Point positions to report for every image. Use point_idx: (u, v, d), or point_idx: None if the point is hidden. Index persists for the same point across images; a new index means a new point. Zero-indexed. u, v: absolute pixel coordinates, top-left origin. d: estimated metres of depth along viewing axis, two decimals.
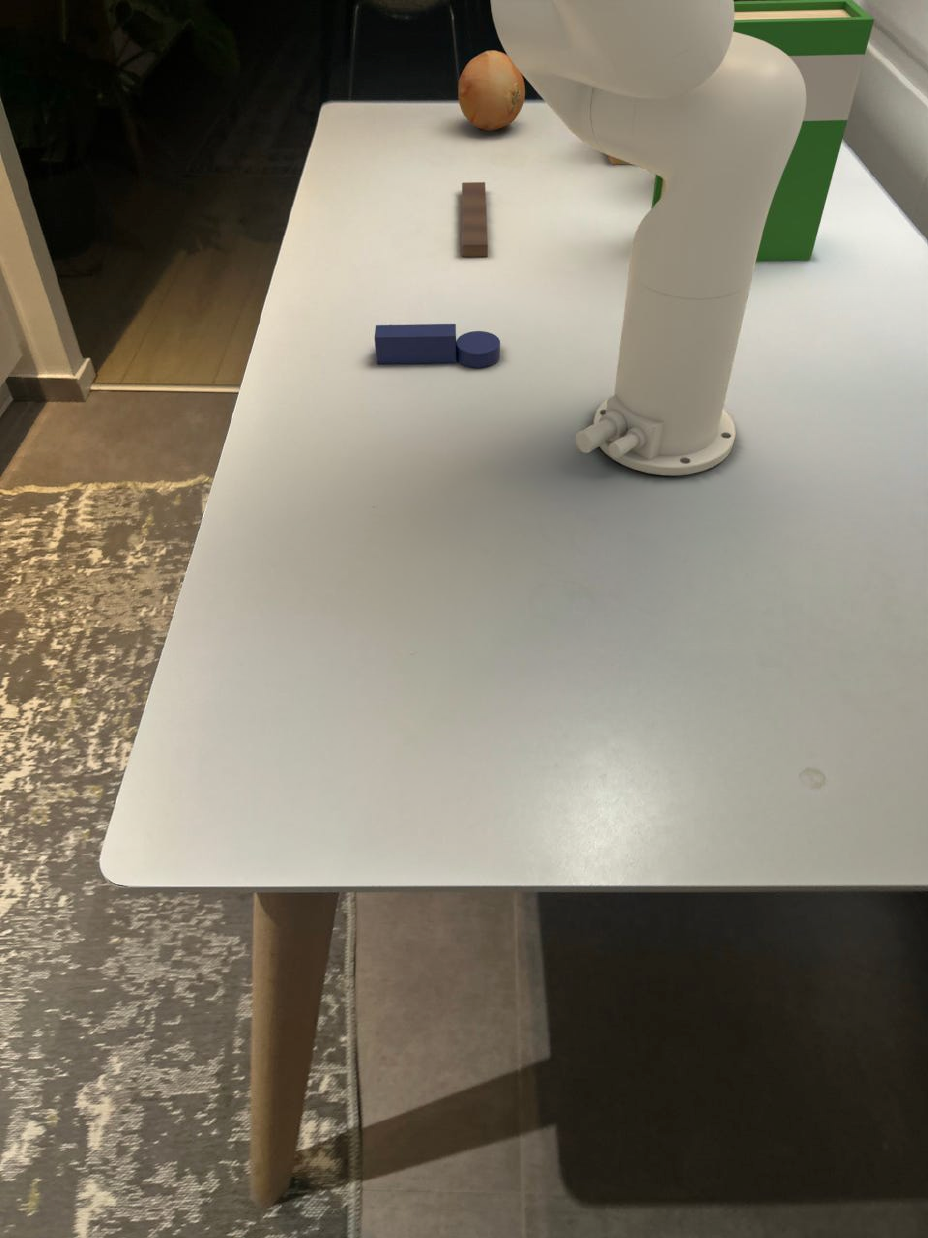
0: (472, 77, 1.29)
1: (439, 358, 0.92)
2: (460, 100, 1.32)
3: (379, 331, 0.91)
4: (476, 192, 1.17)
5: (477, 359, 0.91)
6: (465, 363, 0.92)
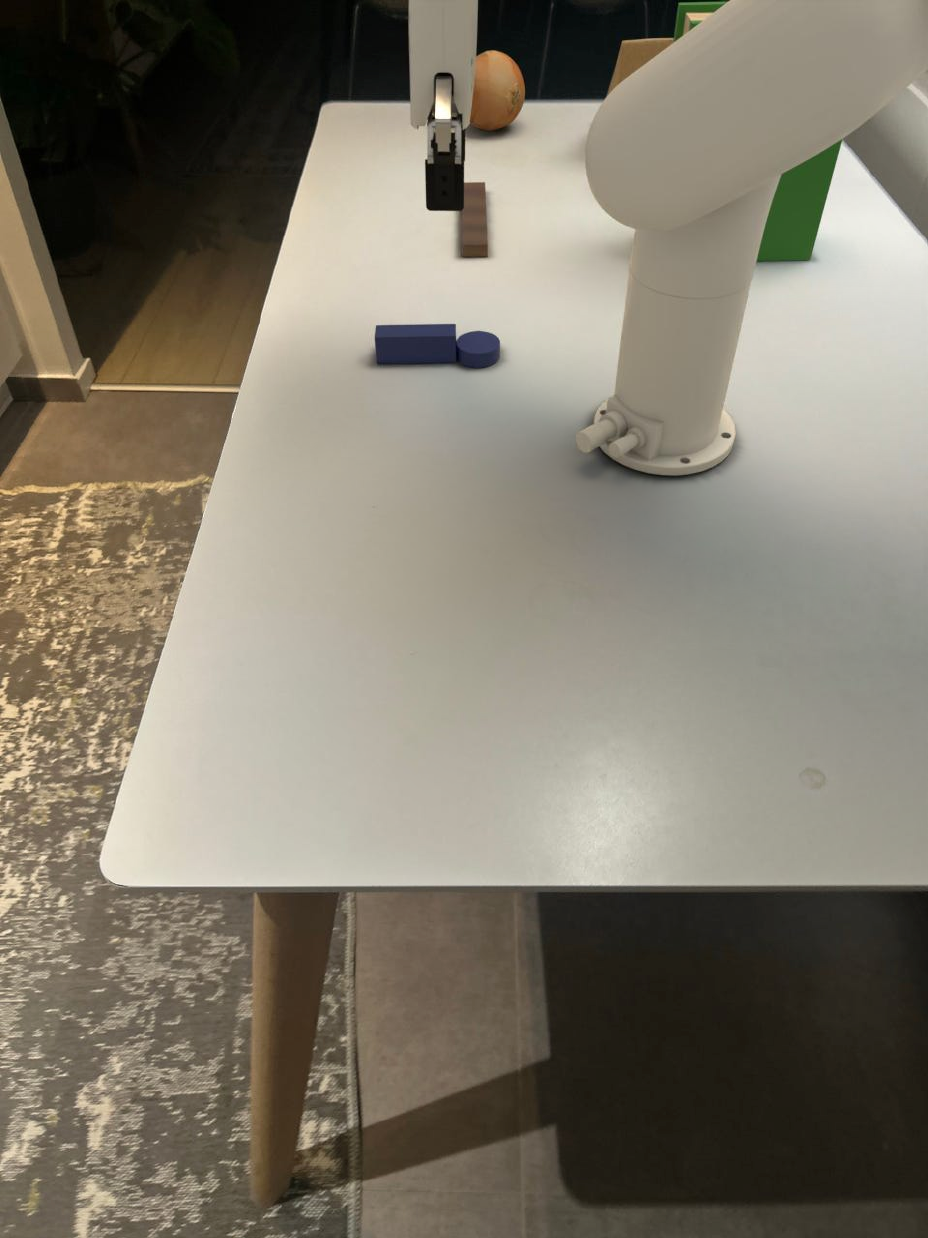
0: None
1: (439, 358, 0.92)
2: None
3: (379, 331, 0.91)
4: (476, 192, 1.17)
5: (477, 359, 0.91)
6: (465, 363, 0.92)
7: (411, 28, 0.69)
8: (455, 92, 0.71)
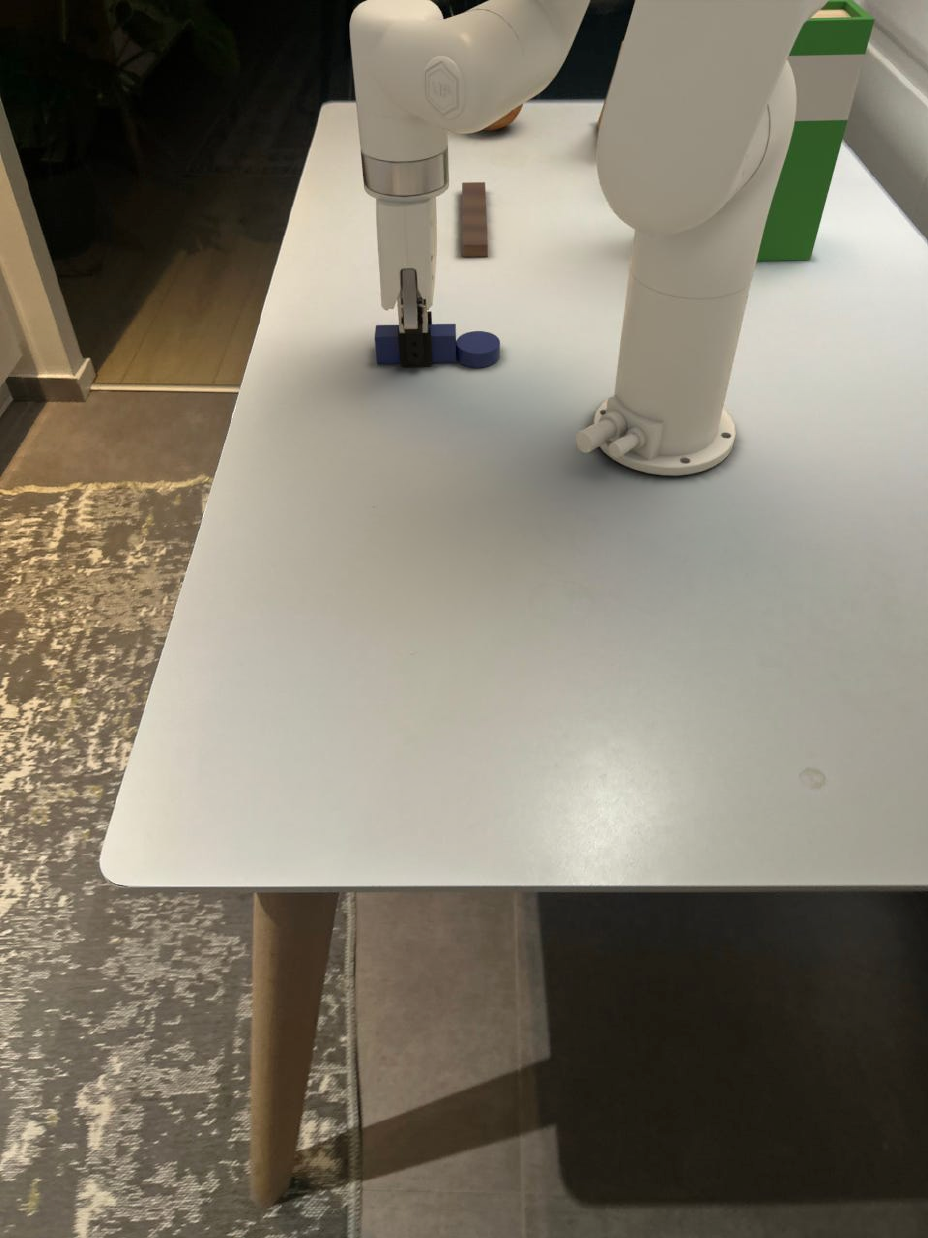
0: None
1: (438, 358, 0.92)
2: None
3: (379, 331, 0.91)
4: (476, 192, 1.17)
5: (477, 359, 0.91)
6: (465, 363, 0.92)
7: (378, 234, 0.80)
8: (418, 283, 0.82)
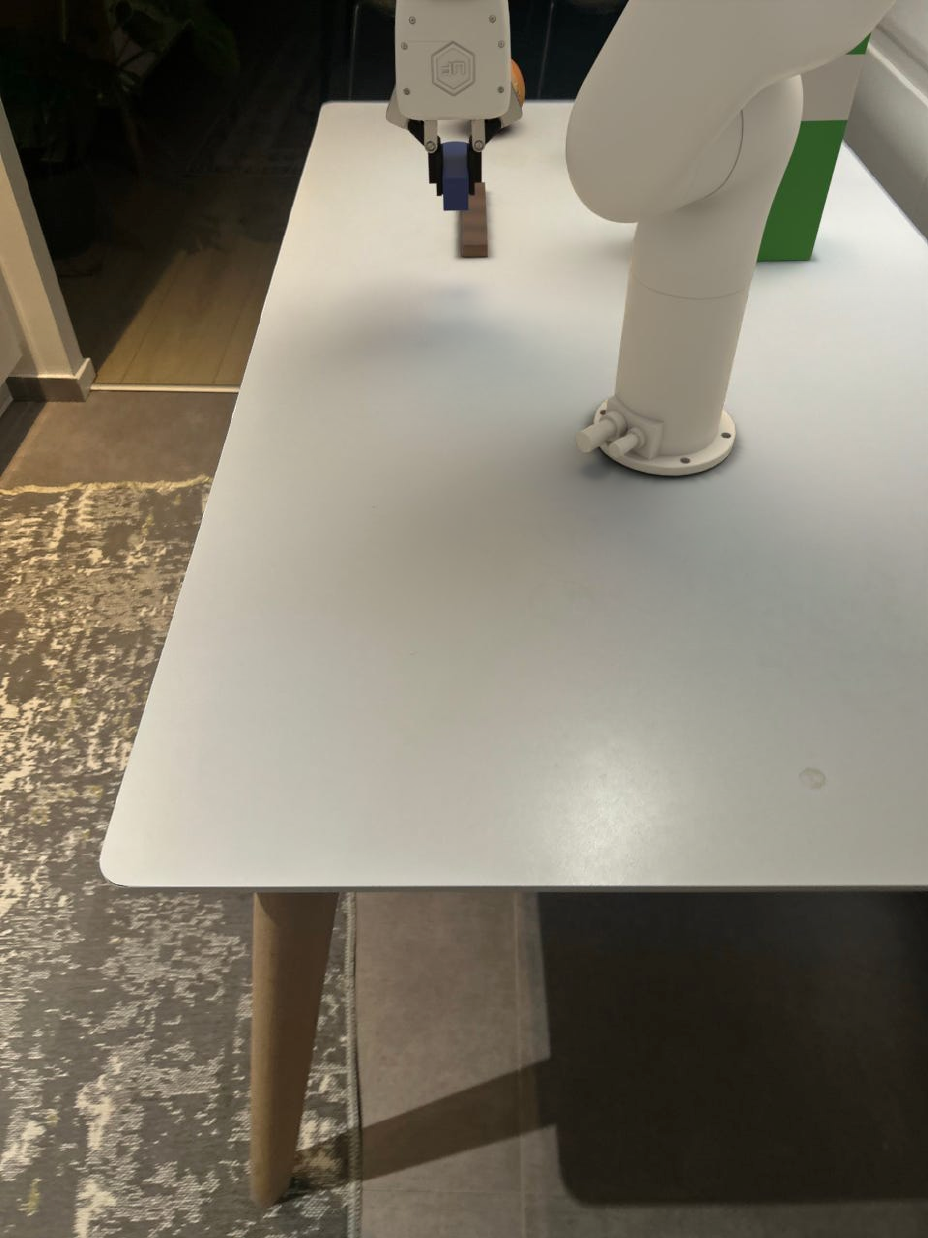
0: None
1: None
2: None
3: (457, 176, 0.85)
4: (476, 192, 1.17)
5: None
6: None
7: (503, 24, 0.77)
8: None
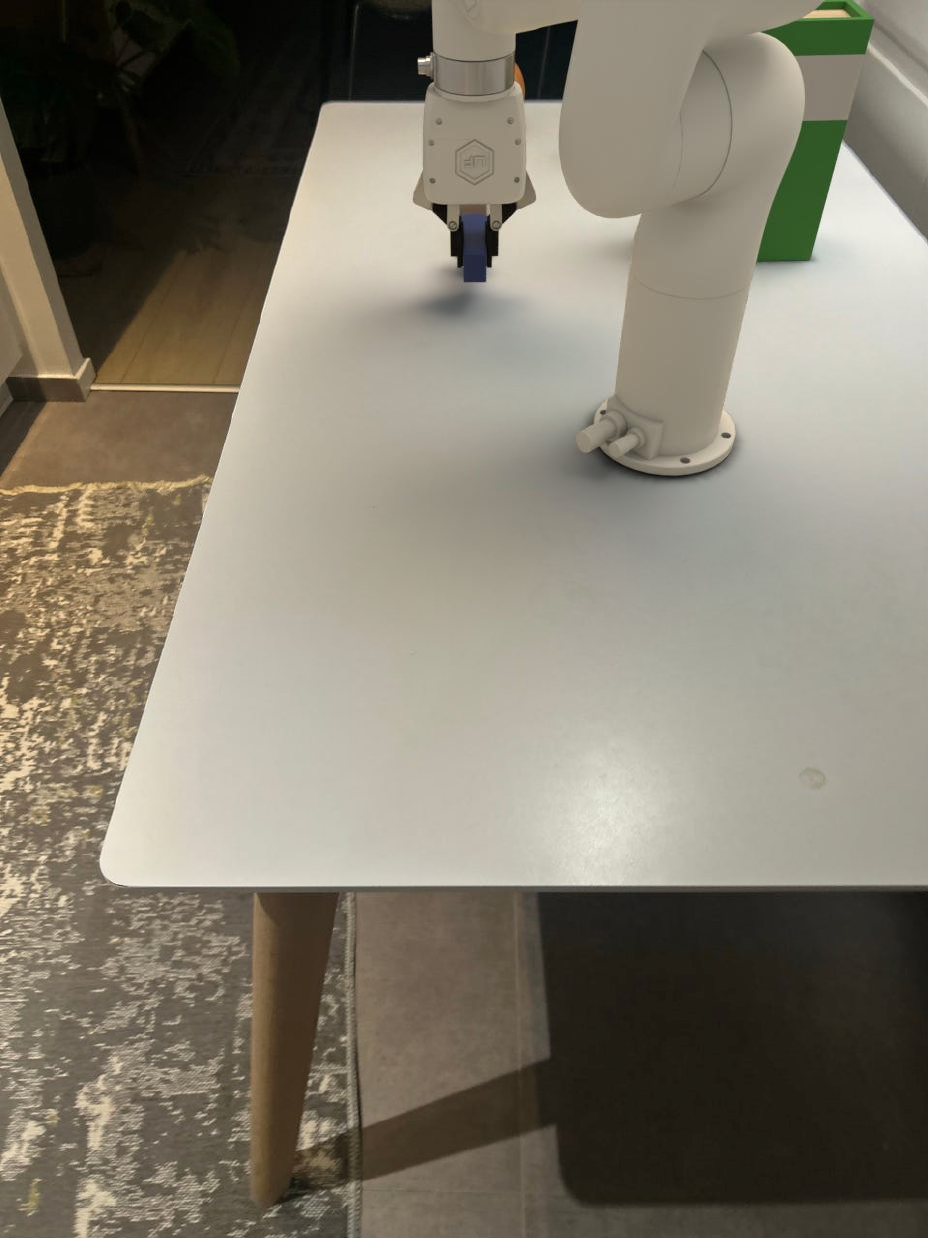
0: None
1: None
2: None
3: (476, 252, 0.95)
4: None
5: None
6: None
7: (519, 125, 0.87)
8: None
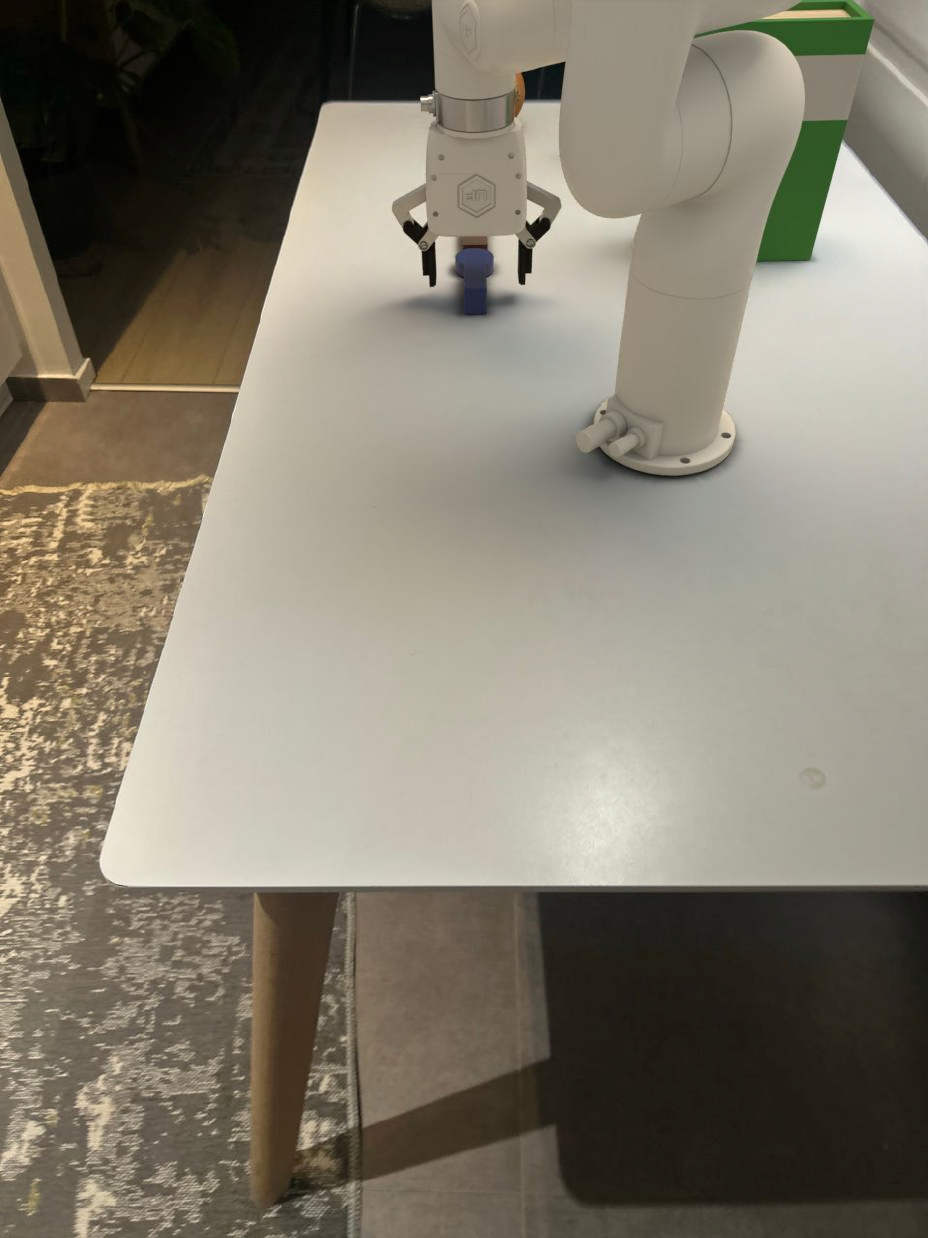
0: None
1: None
2: None
3: (477, 285, 0.97)
4: None
5: (493, 262, 1.05)
6: (490, 272, 1.05)
7: (520, 160, 0.89)
8: None
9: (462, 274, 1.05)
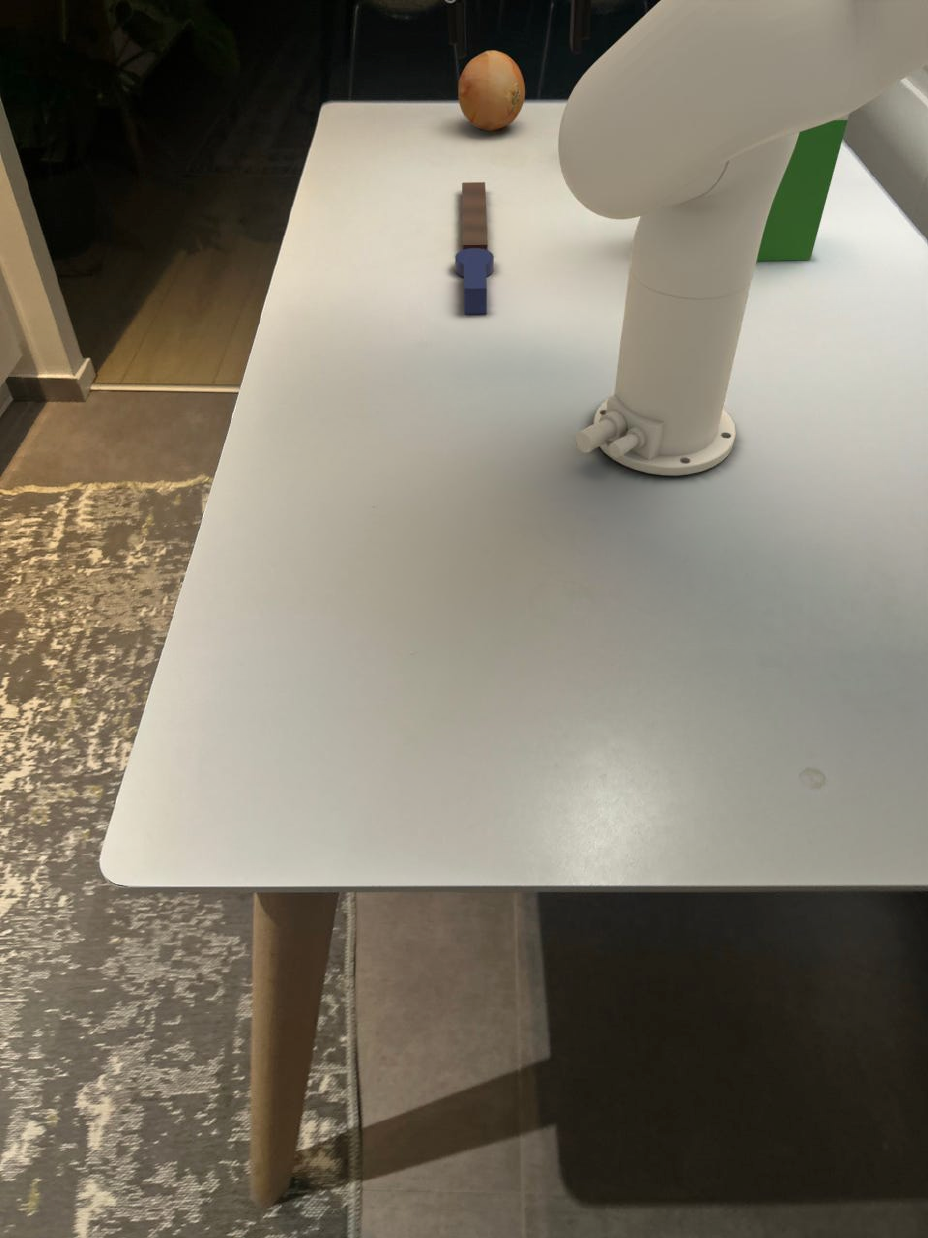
0: (472, 77, 1.29)
1: None
2: (460, 100, 1.32)
3: (477, 285, 0.97)
4: (476, 192, 1.17)
5: (493, 262, 1.05)
6: (490, 272, 1.05)
7: None
8: None
9: (462, 274, 1.05)
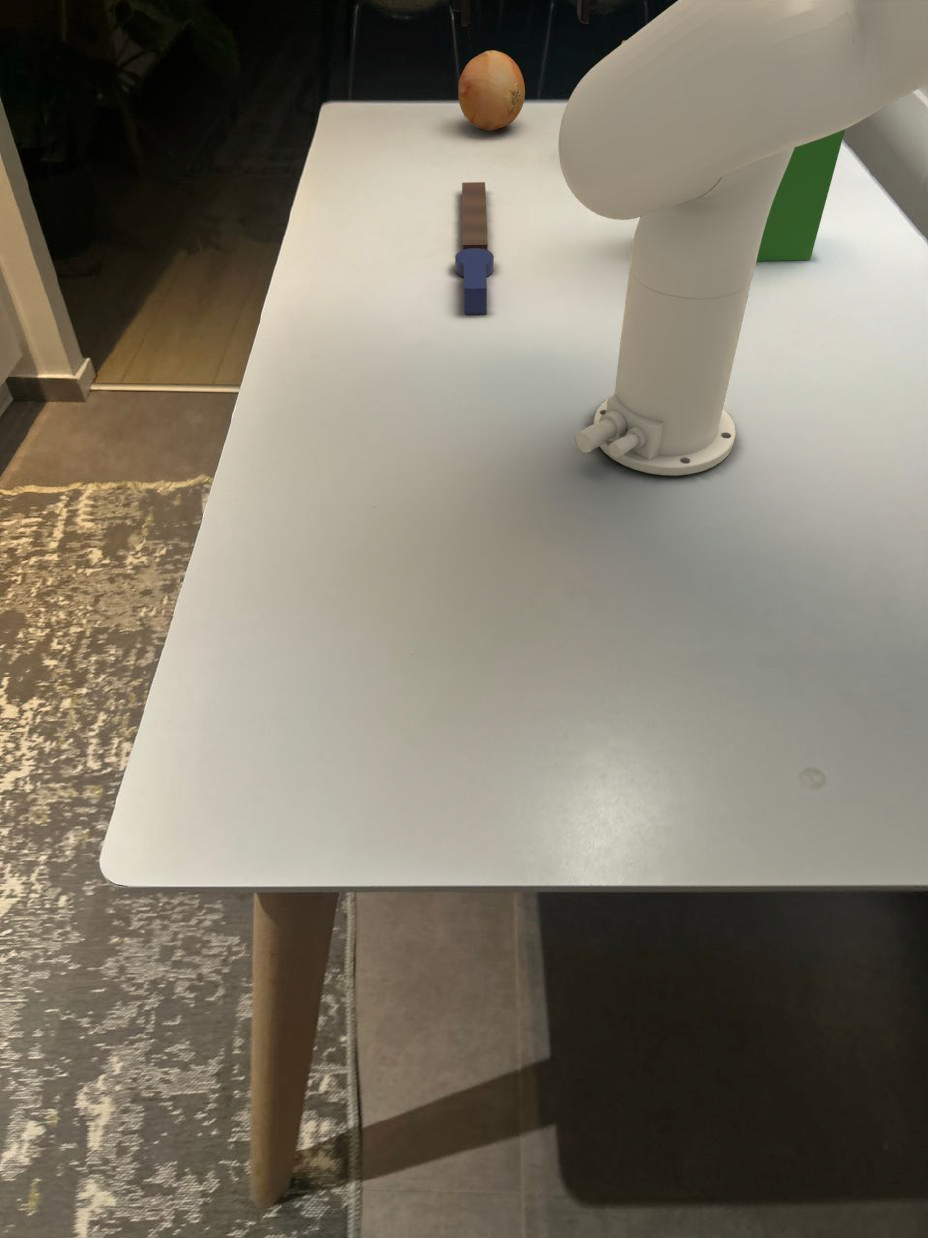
0: (472, 77, 1.29)
1: None
2: (460, 100, 1.32)
3: (477, 285, 0.97)
4: (476, 192, 1.17)
5: (493, 262, 1.05)
6: (490, 272, 1.05)
7: None
8: None
9: (462, 274, 1.05)
